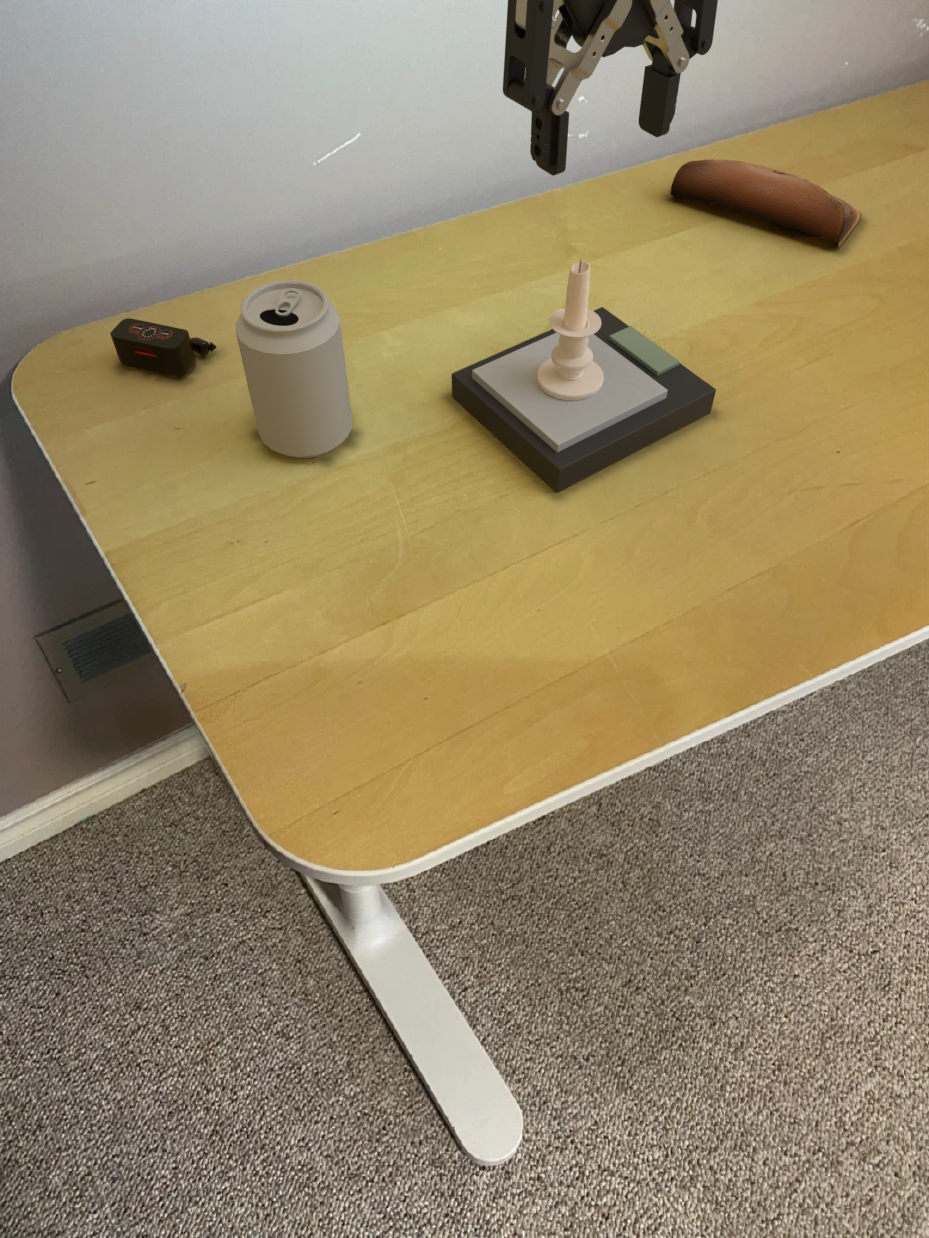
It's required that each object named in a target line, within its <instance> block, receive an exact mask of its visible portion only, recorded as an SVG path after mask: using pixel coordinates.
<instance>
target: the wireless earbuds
mask: <svg viewBox="0 0 929 1238" xmlns="http://www.w3.org/2000/svg"><path fill="white" fill-rule="evenodd" d="M109 334H110V338H111V340H112V344H113V347H114V349H115V352H116V355H117V358H118V360H119V363H120V364H121V365H122V366H124V367H128V368H132V369H136V370H140V371H145V372H149V373H150V372H151V373H155V374H159V375H164V376H167V377H173V378H177V379H183V378H185V377H186V376H187V375H188V373H189V372H190V371H191V369H192V368H193V367H194V366H195V364H196V362H197V358H196V355H195V354H197V355H199V356H200V357H202V358H205V357H207V356H208V355H209V353H213V352H214V351H215V350H216V349H217V345H216V344H214V342H212V341H210V342H209V341H207V340H205V339H203V338H200V337H198V336H196V337H195V336H194V337H191V335H190V333H189V331H188V330H187V329H185V328H180V327H174V326H171V325H170V326H169V325H165V324H160V323H157V322H150V321H146V320H141V319H136V318H132V317H131V318H130V317H128V318H124V319H122V320H120V321H119V322H118V324H117V325H116V326H115V327H114V328H113V329H112V330H111V331H110V333H109Z"/></svg>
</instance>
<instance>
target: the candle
mask: <svg viewBox="0 0 929 1238" xmlns="http://www.w3.org/2000/svg"><path fill="white" fill-rule="evenodd" d="M590 278H591V264H590V263H589V262H588V261H585V260H583V261H582V259H580V260H579V261H577V262H574V263H573V264H571V266H570V268H569V273H568V278H567V285H566V295H565V305H564V307H561V308H558V309H556V310H555V311H553V312H552V314H551V315H550V316H549V320H548V321H549V326H550V328H551V329H553V330H554V331H555V332H557V333H558V334H560V337H559V345H557V346H556V347H555V348H554V349H553V350H552V353H551V358H550V359H548V360H547V361H545V362H544V363H543V364H542V365H541V366H540V367H539V369H538V372H537V382H538V385H539V387H540V388H541V389H542V390H543V391H544V392H545V393H547V394H548V395H550V396H552V397H554V398H557V399H561V400H567V401H576V400H582V399H586V398H588V397H591V396H593V395H594V394H596V393H597V392H598V391H599V390H600V388H601V387H602V384H603V379H604V378H603V372H602V370H601V368H600V367H599V366H598V365H597V364H596V363H595V362H593V361H592V360H593V353H592V351H591V349H590V348H588V347H587V345H588V336H590V335H593V334H594V333H596V332H597V331H598V330H599V329H600V327H601V319H600V317H599V315H597V314H596V313H595V312H594V310H592V309H590V308H589V295H590V281H591V279H590Z"/></svg>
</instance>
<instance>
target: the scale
mask: <svg viewBox="0 0 929 1238" xmlns="http://www.w3.org/2000/svg"><path fill="white" fill-rule="evenodd" d="M593 311H594V312H595V313H596V314H597V315H599V317H600V319H601V327H600V329H599V330H598V331H597V332H596V333H594V334H593V335H590V336H588V345H587V347H588V348H590V349H591V351H592V353H593V360H592V361H593V362H595V363H596V364H597V365H598V366H599V367H600V368H601V370H602V372H603V378H604V379H603V384H602V387H601V388H600V390H599V391H598V392H597V393H596V394H594V395H593V396H591V397H588V398H586V399H582V400H576V401H567V400H561V399H557V398H554V397H552V396H550V395H548V394H547V393H545V392H544V391H543V390H542V389H541V388H540V387H539V385H538V382H537V372H538V369H539V367H540V366H541V365H542V364H543V363H544V362H545V361H547V360H548V359H550V358H551V353H552V350H553V349H554V348H555V347H556V346H557V345H559V337H560V334H558V333H557V332H555V331H554V330H553V329H552V328H551V329H549V330H547V331H544V332H542V333H540V334H537V335H536V336H533V337H531V338H529V339H526V340H524V341H522V342H520V343H518V344H515V345H513V346H510V347H508V348H506V349H503V350H501V351H500V352H497V353H494V354H493V355H490V356H488V357H486V358H484V359H481V360H479V361H477V362H475V363H472V364H470V365H468V366H465V367H463V368H460V369H459V370H456V371H454V372H452V373H451V397H452V399H453V400H455V401H456V402H457V403H458V404H459V405H460V406H461V407H463V408H464V409H465V411H467V412H468V413H469V414H470V415H471V416H472V417H473V418H474V419H476V420H477V421H478V422H479V423H480V424H481V425H482V426H483V427H484V428H485V429H487V430H488V431H489V432H490V434H492V435H493V436H494V437H495V438H497V440H499V442H500V443H502V444H503V445H504V446H505V447H507V449H508V450H510V451H511V452H512V453H513V454H514V455H515V456H516V457H517V458H518V459H519V460H520V461H521V462H523V463H524V464H525V465H526V466H527V468H529V469H530V470H532V471H533V473H535V474H536V475H537V476H538V477H539V478H540V479H541V480H542V481H544V483H546V484H547V485H548V486H549V487H550V488H551V489H552V490H553V491H554V492H555V493H559V492H561V491H563V490H566V489H567V488H570V487H571V486H573V485H575V484H577V483H578V482H581V481H582V480H584V479H586V478H589V477H590V476H592V475H594V474H596V473H598V472H600V471H602V470H604V469H606V468H607V467H609V466H611V465H613V464H616V463H617V462H619V461H621V460H623V459H624V458H626V457H628V456H631V455H632V454H634V453H636V452H638V451H640V450H643V449H644V448H645V447H648V446H649V445H651V444H653V443H655V442H657V441H659V440H661V439H663V438H665V437H667V436H669V435H670V434H673V433H674V432H677V431H678V430H681V429H683V428H684V427H686V426H688V425H689V424H692V423H693V422H696V421H697V420H700V419H701V418H703V417H705V416H707V415H709V414H711V412H712V409H713V404H714V400H715V397H716V392H717V388H715V387H713V386H712V385H711V384H710V383H708V382H707V381H706V380H704V379H703V378H701V377H700V376H698V375H697V374H696V373H694V372H693V371H692V370H690V369H689V368H687V366H685V365H683V364H682V363H681V360H679V359H678V358H676V357H675V356H673V355H672V354H671V353H669V352H668V351H667V350H665V349H664V348H663V347H661V346H660V345H658V344H657V343H656V342H654V341H653V340H651V339H650V338H649V337H648V336H646V335H644V334H643V333H642V332H640V331H639V330H638V329H636V328H635V327H633V326H631V325H628V324H627V323H626V322H624V321H623V320H621V319H620V318H619V317H617V316H616V315H615V314H613V313H611V312H610V311H609V310H607V308H605V307H603V306H601V307H598V308H596V309H594V310H593Z"/></svg>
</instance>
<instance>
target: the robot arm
mask: <svg viewBox="0 0 929 1238" xmlns="http://www.w3.org/2000/svg"><path fill="white" fill-rule="evenodd" d="M718 2H719V0H674V2H673V4H672V2H671V0H507V8H506V9H507V10H506V27H505V43H504V62H503V75H502V76H503V79H502V80H503V81H502V93H503V95H504V96H505V97H506V98H507V99H509V100H511V101H513V102H515V103H516V104H518V105H520V106H521V107H523V108H525V109H526V110H528V111H529V112H531V119H530V120H531V121H530V122H531V123H530V146H529V147H530V148H529V149H530V150H529V151H530V156H531V159H532V160H533V161H534V162H535V164H536V166H537V167H539V168H540V169H541V170H543V171H544V172H546V173H547V174H549V175H550V176H552V177H554V176H557V175H560V174H563V173H564V172H565V171H566V168H567V153H568V138H569V126H570V125H569V123H570V112H569V111H567V109H568V107H569V105H570V103H571V101H572V100H573V97H574V96H575V94H576V92H577V90H578V88H579V86H580V85H581V83H582V82H583V81H584V80H587V79H589V78H590V77H591V76H592V75H593V74H594V73H595V70H596V68H597V66H598V65H599V62H600V60H601V59H602V58H606V57H609V56H612V55H615V54H616V53H618V52H619V51H621V50H622V49H624V48H636V47H637V48H638V47H640V46H642V47H643V50H644V51H645V53H646V55H647V57H648V59H649V61H651V64H648V65H646V66H644V72H643V81H642V89H641V95H640V96H641V97H640V104H639V112H638V113H639V114H638V126H639V128H640V129H641V130H642V131H644V132H646V133H647V134H649V135H651V136H653V137H655V138H660V137H662V136H665V135H667V134H668V133H669V131H670V128H671V124H672V122H673V119H674V117H675V114H676V108H677V105H676V104H677V101H678V95H679V88H680V82H681V81H680V80H681V74H682V73H683V72H685V71H686V70H687V68H688V66H689V63H690V60H691V59H692V58H693V57H695V56H696V55H699V56H705V55H706V54H707V53H708V52H709V51H710V50H711V48H712V45H713V41H714V33H715V26H716V19H717V11H718ZM693 10H694V11H693ZM557 12H558V14H557ZM693 12H695V23H694V25H693V26H692V21H693ZM556 14H557V16H556ZM571 37H572V38H573V40H574V42H575V43H576V44H577V45H578V46H579V47H580V49H579V50H578V51H576V52H572V51H571V50H569V49H567V46H568V43H569V42H570V40H571ZM562 69H563V71H562V73H561V75H560V76H559V78H558V80H557V82H556V84H555V86H553V85H554V83H555V80H556V78H557V77H558V74H559V73H560V71H561V70H562Z"/></svg>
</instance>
